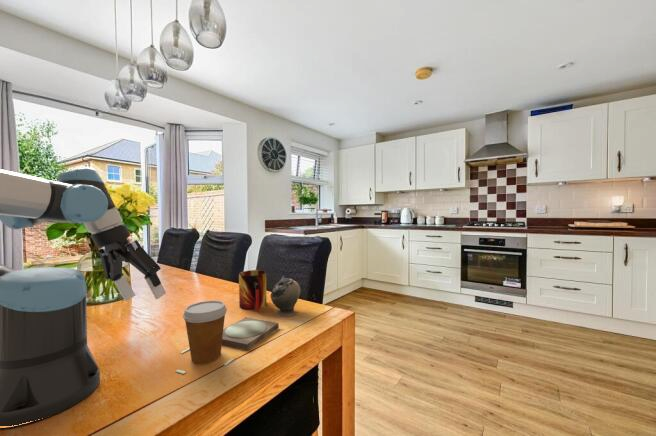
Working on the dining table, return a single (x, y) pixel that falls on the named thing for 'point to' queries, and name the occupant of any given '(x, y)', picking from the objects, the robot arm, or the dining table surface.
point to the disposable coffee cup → (205, 330)
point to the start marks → (189, 349)
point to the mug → (252, 289)
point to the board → (247, 332)
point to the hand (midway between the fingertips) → (145, 297)
